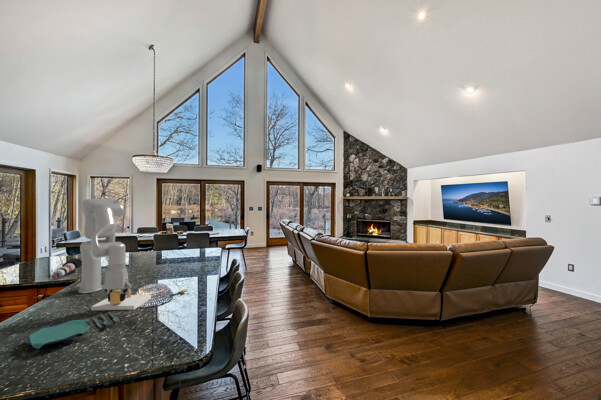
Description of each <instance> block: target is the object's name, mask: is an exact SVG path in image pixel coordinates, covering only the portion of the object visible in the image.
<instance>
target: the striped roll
mask: <svg viewBox="0 0 601 400" xmlns="http://www.w3.org/2000/svg"><path fill="white" fill-rule="evenodd" d="M81 267H82V259H79V258H72V259H69V260H68V261H66V262H64V263H63V264H62V265H61V267H59V268H58V269H57V270H54V271H53V272H52V276H51V278H52V279H56V278H57V277H60V276H62V277H63V276H64V275H66V274H68V273H70V272H72V271H73V270H75V269H79V268H81Z"/></svg>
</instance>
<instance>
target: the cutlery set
mask: <svg viewBox="0 0 601 400" xmlns="http://www.w3.org/2000/svg"><path fill="white" fill-rule="evenodd" d="M108 315H109V316H110V317H111V318H112V320H111V319H106V317H105V316H104V315H103V314H100V315H99V316H100V317H101V318H102V319H103V320H104V321H103V325H105V326H108V325H111V324H112V323H113V322H115V323H120V322H121V320H120V319H119V317H118V316H114V314H113V313H112V312H110V311H109V312H108ZM91 319H92V320H93V321H94V324H96V326H97V328H102V325H101V324H100V322H99V320H98V319H96V318H95V317H93V316H92V318H91ZM90 327H91V322H89V321H86V319H76V320H75V319H74V320H70V321H67V322H61V323H57V324H55V325H51V326H47V327H44V328H40V329H38V330H36V331H35V332H33V333H31V334H29V336H28V337H27V338H26V340H25V342H26V344H27V345H30V346H31V347H33V348H34V349H37V350H40V348H42V347H43V346H44V345H52V344H55V343H60V342H64V341H67V340H69V339H72V338H74V337H76V336H79V335H80V334H82V335H83V334H85V333H86V332H88V331H89V330H90Z"/></svg>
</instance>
